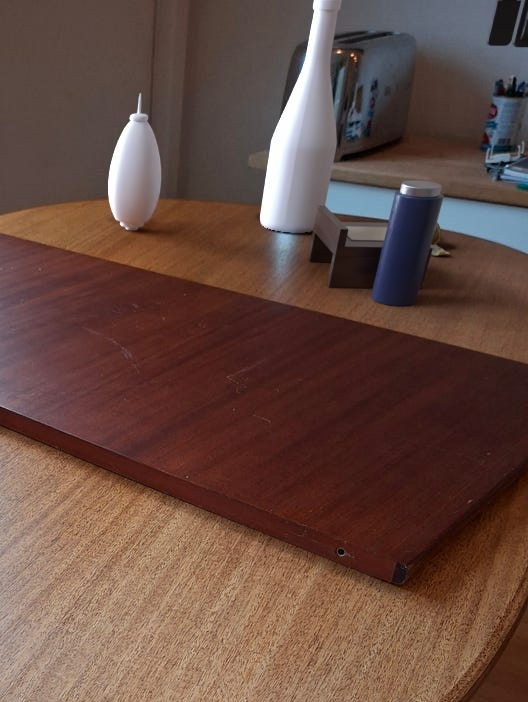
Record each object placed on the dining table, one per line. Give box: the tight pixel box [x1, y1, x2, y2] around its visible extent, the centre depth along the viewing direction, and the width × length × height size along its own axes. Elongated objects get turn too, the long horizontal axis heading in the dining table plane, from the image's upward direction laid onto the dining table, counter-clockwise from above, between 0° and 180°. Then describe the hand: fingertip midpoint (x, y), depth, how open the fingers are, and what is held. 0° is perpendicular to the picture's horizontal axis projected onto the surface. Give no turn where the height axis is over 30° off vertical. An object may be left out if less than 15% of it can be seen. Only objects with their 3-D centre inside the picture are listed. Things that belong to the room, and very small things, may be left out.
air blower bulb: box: [107, 92, 162, 231], centre depth 130 cm, size 8×8×18 cm
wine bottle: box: [259, 0, 343, 234], centre depth 128 cm, size 10×10×30 cm
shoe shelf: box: [307, 205, 433, 290], centre depth 116 cm, size 12×13×7 cm
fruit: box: [431, 222, 451, 256], centre depth 127 cm, size 8×8×4 cm
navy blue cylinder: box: [370, 180, 445, 307], centre depth 105 cm, size 5×5×13 cm
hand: (510, 46), depth 85 cm, fingers open, 8 cm apart
